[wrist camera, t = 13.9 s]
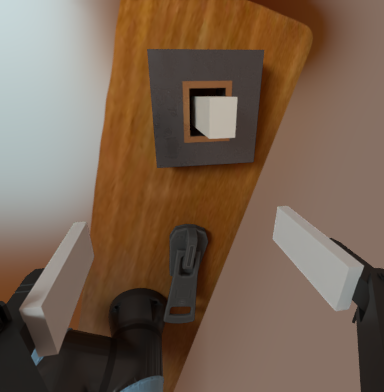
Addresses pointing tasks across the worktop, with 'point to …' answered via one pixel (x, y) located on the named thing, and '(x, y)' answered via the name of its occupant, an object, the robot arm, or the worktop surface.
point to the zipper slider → (184, 269)
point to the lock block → (179, 103)
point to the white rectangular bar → (214, 115)
